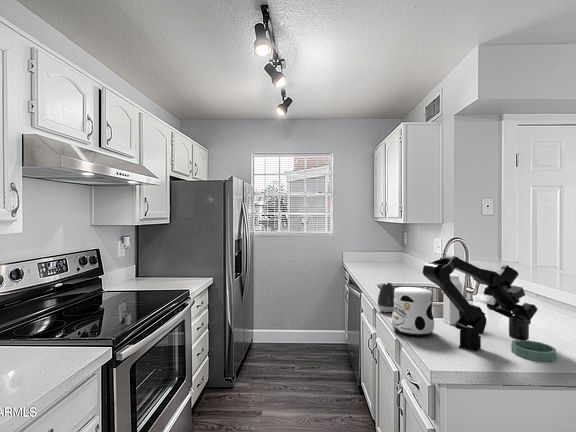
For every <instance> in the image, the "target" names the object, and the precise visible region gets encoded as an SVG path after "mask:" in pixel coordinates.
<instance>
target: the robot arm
mask: <svg viewBox="0 0 576 432" xmlns="http://www.w3.org/2000/svg"><path fill="white" fill-rule="evenodd" d="M455 270H456V271H459V272H461V273H463V274H465V275H468V276H470V277H471V278H472V280H474V282H476V283H478V284H480V285H485V286H486V287H484V291H483V295H484V296H489V297H490V299H489V300H488V301H487V303H486V308H488V309H489V310H490V311H493V312H495V313H497V314H500V315H502V316H504V317H506V318H508V319H509V315H510V314H511V313H512V311H513V310H517V311H518V316H519V317H518V318H519V319H520V320H522V321H524V322H525V323H527V324H529V325H531V324H532V323H531V321H532V318H533V317H534V316H535V315H536V314H537V311H538V310H539V309H538V307H537V306H536V305H535V304H532V303H528V302H524V303H523V304H519V303H520V302H521V300H520V299H521V298H522V297H526V294H525V291H524V287H522V286H517V285H512V284H513V283H514V282H515V280H516V279H517V278H518V276H519V272H518V271H517V270H516V269H515V268H513V267H510V266H509V264H502V265H501V268H499V271H498V272H497V271H493V270H491V269H490V270H489V269H484V268H481V267H479V266H476V265H474V264H471V263H470V262H467V261H465V260H463V259H461V258H460V257H458V256H454V255H447V256H444V257H442V258H439V259H437V260H433V261H431V262H426V263H425V264H424V266H423V269H422V275H423V276H424V277H425V278H426V279H427V280H429V281H430V282H432V283H433V284H435V285H437V286H438V288H439V289H440V290H441V291H442V292H443V294H444V293H445V295H446V296H447V297H448V298H449V299H450V301H451V302H452V303H453V304H454V306H455V307H456V308H457V309H458V310H459V317H460V318H459V319H458V321H457V322H456V323H455V327H456V329H458V330H459V345H458V348H459V349H464V350H469V351H474V352H478V351H480V349H481V347H482V336H481V335H484V332H485V330H486V326H487V317H486V313H485V312H484V311H483V310H482V308H481V307H480V306H477V305H473V304H470V302H469V301H468V300H467V299H466V298H465V296H464V295H463V293H462V294H461V293H460V291H459V290H458V289H457V288H456V287H455V285H454V284H453V283H452V282H451V280H450V276H451V274H453V272H455Z"/></svg>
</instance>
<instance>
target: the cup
mask: <svg viewBox="0 0 576 432" xmlns="http://www.w3.org/2000/svg"><path fill="white" fill-rule="evenodd" d="M511 353H513V354H514V355H515V356H518V357H520V358H523V359H526V360H531V361H536V362H546V363H548V362H549V363H551V362H556V361H557V348H555V347H553V346H552V345H551V344H547V343H544V342H539V341H533V340H529V339H528V340H517V339H515V340H512V341H511Z"/></svg>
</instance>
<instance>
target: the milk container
mask: <svg viewBox="0 0 576 432" xmlns="http://www.w3.org/2000/svg"><path fill="white" fill-rule="evenodd" d="M394 289H395V290H394V311H393V312H392V314H391V324H392V328H393V329H394V330H395V331H397V332H398V333H401V334H404V335H408V336H421V337H422V336H427V335H430V334H431V333H433V331H434V329H435V320H434V315H433V292H432V291H431V290H429V289H427V288H421V287H416V286H415V287H413V286H412V287H411V286H401V287H399V286H398V287H396V288H395V287H394Z"/></svg>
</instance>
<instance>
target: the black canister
mask: <svg viewBox="0 0 576 432" xmlns="http://www.w3.org/2000/svg"><path fill="white" fill-rule="evenodd" d="M394 290H395V287H394V286H393V284H392V282H385V283H383V284H382V285H381V287H380V290H379V293H378V296H377V297H378V298H377V306H378V309H379V310H380V311H381V312H383V313H385V312H392V313H393V311H394Z"/></svg>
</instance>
